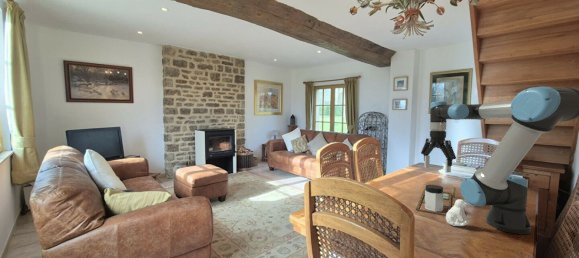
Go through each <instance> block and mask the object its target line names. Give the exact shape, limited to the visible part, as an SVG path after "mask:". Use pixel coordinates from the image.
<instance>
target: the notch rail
mask: <svg viewBox="0 0 579 258" xmlns="http://www.w3.org/2000/svg"><path fill="white" fill-rule="evenodd" d="M425 189H426V188H424V189H423V192H422V193H421V196H420V199H419V201H418V204H417V206H416V208H415V211H416V210H417V211H416V212H422V213H428V214H434V215H439V216H442V217H443V216H444V217H446V214H447V213H442V212H441V213H440V212H434V211H430V210H427V209H420V207H421V204H424V205H425V201H423V200H424V198H425ZM443 194H444V196H443V201H448V205H444V204H443V208H447V212H448V211H449V210H450V209H451V208H452V207H451V206H452V198H453V199H456V187H454V186H452V188H451V192H446V191H443Z"/></svg>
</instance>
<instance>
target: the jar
mask: <svg viewBox="0 0 579 258" xmlns="http://www.w3.org/2000/svg"><path fill="white" fill-rule="evenodd" d="M424 189H425V194H424V195H425V196H424V202H425V204H424V209H425V210H426V211H432V212H437V213H440V212H443V211H444V207H443V205H444V199H443V196H444V194H443V192H444V187H443V186H442V185H437V184H426V185H425V188H424Z"/></svg>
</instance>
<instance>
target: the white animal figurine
mask: <svg viewBox="0 0 579 258" xmlns="http://www.w3.org/2000/svg"><path fill="white" fill-rule="evenodd" d="M467 207H468V202H467V201H466V202H465V200H463V199H456V200H455V201H454V205H453V206H452V207H451V209H450V210H449V211H448V210H447V212H446V213H445V214H446V216H445V220H446V223H447V224H449V225H451V226H453V227H464V226H467V225H468V223H470V222H471V221H470V220H471V218H470V217H467V215H466V213H465V210H464V208H467Z"/></svg>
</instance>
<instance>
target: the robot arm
mask: <svg viewBox="0 0 579 258" xmlns="http://www.w3.org/2000/svg"><path fill="white" fill-rule="evenodd" d="M429 111H430V112H429V113H430V117H429V118H430V119H429V120H430V121H429V130H430V131H429V137H430V138H428V137H427V138H426V139H425V142H424V145H423V147H422V149H421V152H420V154H421V155H423V162H424V168H425V169H426V168H430V161H431V160H430V154H431V153H432V151H433V150H434V148H437V149H440V151H442V153H443V155H444V157H445V158H446V159H445V167H444V168H445V170H444V172H445V173H446V174H447V173H449V174H450V173H452V166H453V160H456V159H457V156H456V153H455V150H454V148H453V147H452V141H451V140H450V139H448V140H447V139H446V137H447V120H455V121H459V120H477V121H479V120H480V121H481V120H482V121H483V120H489V119H491V120H493V119H496V120H497V119H511V122H512V123H511V125H510V127H509V129H508V130H507V131H506V133H505V134H504V136H503V137H502V139H501V140H500V142H499V143H498V145H497V147H496V148H495V150H494V151H493V152H492V154H491V156H490V157H489V158H488V160H487V161H486V162H485V164H484V166H483V167H482V168H480V169H476V171H475V172H474V173H473V175H472V177H467V178H464V179H463V180H461V181H460V185H459V188H460V193H461V195H462V197H463V199H464V201H466V203H467V204H469V205H472V206H474V207H486V206H488V207H489V206H491V207H490V209H489V211H488V213H487V215H486V217H485V223H486V224H487V225H488V226H491V227H492V228H495V229H496V230H499V231H501V232H505V233H511V234H517V235H527V234H531V233H532V226H531V222H530V220H529V217H528V214H527V207H528V206H527V204H528V190H529V187H528V180H527V179H526V178H525V177H521V176H517V175H512V174H513V173H514V171H515V170H516V168H517V167H518V166H519V164H521V162H522V160H523V159H524V158H525V157H526V156H527V154H528V153H529V152H530V150H531V148H533V146H534V145H535V143H536V142H537V141H538V139H539V138H540V137H541V136H542V135H543V134H547V133H550V132H551V131H552V130H553V129H554V128H555V127H556V125H557V124H558V123H559V122H570V121H575V120H578V119H579V88H575V87H557V86H556V87H555V86H554V87H552V86H544V85H543V86H536V87H529V88H526V89H523V90H522V91H520V92H518V93H517V94H516V96H514V98H513V99H512V100H506V101H497V102H487V103H477V104H472V103H471V104H463V103H453V104H448V102H447V101H445V100H444V101H443V100H439V101H432V102H431V103H430V110H429Z"/></svg>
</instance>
